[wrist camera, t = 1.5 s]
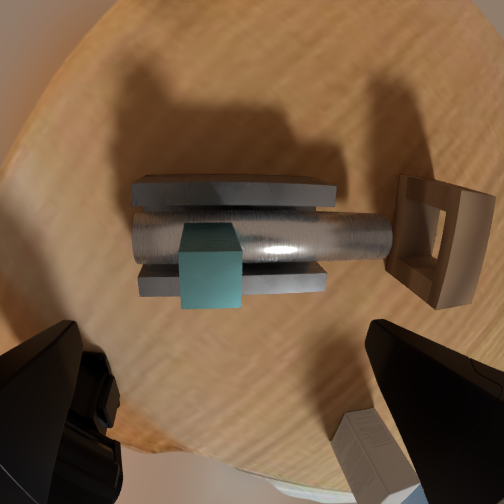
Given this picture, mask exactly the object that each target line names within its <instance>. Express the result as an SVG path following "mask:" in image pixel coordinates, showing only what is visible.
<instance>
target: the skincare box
mask: <svg viewBox="0 0 504 504" xmlns="http://www.w3.org/2000/svg"><path fill="white" fill-rule="evenodd" d="M331 446H332V448H333V451H334V453H335V455H336V457H337V460H338V462H339V464H340V466H341V468H342V470H343V473H344V475H345V477H346V479H347V481H348V484H349V486H350V488H351V490H352V492H353V495H354V497H355V499H356V501H357V503H358V504H401V503H402V501H403V500H404V499H405V498H407V497H408V496H409V494H411V493H412V492H413V491H414V490H415V489H416V487H417V486H418V485H419V484H420V480H419V478H418V475H417V474H416V472H415V471H414V469H413V468H412V466H411V464H410V463H409V461H408V460H407V458H406V456H405V455H404V453H403V452H402V450H401V448H400V447H399V445H398V444H397V442H396V441H395V439H394V437H393V436H392V434H391V433H390V431H389V430H388V428H387V426H386V425H385V423H384V422H383V420H382V419H381V417H380V416H379V414H378V412H377V411H376V409H375V408H370V409H365V410H359V411H353V412H347V413H345V414H344V416H343V419H342V421H341V423H340V425H339V427H338V429H337V431H336V433H335V435H334V437H333V439H332V441H331Z"/></svg>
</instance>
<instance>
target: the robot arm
mask: <svg viewBox="0 0 504 504" xmlns="http://www.w3.org/2000/svg"><path fill="white" fill-rule="evenodd" d="M365 349H366V352H367V355H368V357H369V360H370V363H371V366H372V369H373V372H374V375H375V378H376V381H377V383H378V386H379V388H380V391H381V393H382V395H383V397H384V399H385V401H386V404H387V406H388V408H389V410H390V412H391V415H392V417H393V419H394V421H395V423H396V426H397V428H398V430H399V433H400V435H401V437H402V439H403V442H404V444H405V446H406V449H407V451H408V453H409V456H410V458H411V461H412V463H413V465H414V468H415V470H416V473H417V475H418V478H419V480H420V483H421V485H422V487H423V489H424V493H425V496H426V498H427V501H428V503H429V504H504V372H503V371H500V370H498V369H495V368H493V367H490V366H488V365H485V364H483V363H481V362H478V361H476V360H474V359H472V358H469V357H467V356H465V355H463V354H460V353H458V352H456V351H454V350H451V349H449V348H447V347H445V346H443V345H440V344H438V343H436V342H434V341H431V340H429V339H427V338H425V337H423V336H420V335H418V334H416V333H414V332H412V331H409V330H407V329H405V328H403V327H401V326H398V325H396V324H394V323H392V322H390V321H387V320H385V319H376V320H372V321H371V323H370V326H369V329H368V332H367V336H366V339H365ZM82 351H83V344H82V340H81V336H80V332H79V328H78V325H77V323H76V322H75V321H72V320H62V321H61V322H59V323H57V324H55V325H53V326H52V327H50V328H48V329H46V330H44V331H43V332H41V333H39V334H37V335H35V336H34V337H32V338H30V339H28V340H27V341H25V342H23V343H21V344H20V345H18V346H16V347H14V348H13V349H11V350H9V351H7V352H6V353H4V354H2V355H1V356H0V504H114V503H115V501H116V500H117V498H118V496H119V494H120V491H121V488H122V483H123V471H122V459H121V446H120V442H119V441H117V440H115V439H114V440H112V439H111V438H109V437H107V436H106V431H107V428H112V427H113V425H114V421H115V416H116V411H117V408H119V406H120V401H119V398H120V394H119V390H118V387H117V384H116V380H115V377H114V376H113V375H112V374H111V371H110V368H109V364H108V360H107V357H106V355H105V354H103V353H97V352H82ZM99 358H102V359H103V360H101V359H99Z"/></svg>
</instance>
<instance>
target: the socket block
mask: <svg viewBox="0 0 504 504" xmlns="http://www.w3.org/2000/svg"><path fill="white" fill-rule="evenodd" d="M495 199H496V197H495V196H492V195H489V194H486V193H482V192H479V191H475V190H472V189H468V188H465V187H461V186H457V185H454V184H450V183H446V182H442V181H438V180H433V179H427V178H420V177H413V176H406V175H400V176H399V186H398V195H397V203H396V211H395V218H394V225H393V232H392V235H393V238H392V246H391V249H390V252H389V255H388V261H387V266H386V271H387V272H388V273H389V274H391V275H392V276H393V277H394V278H396V279H397V280H398V281H400V282H401V283H402V284H404V285H405V286H406V287H407V288H409V289H410V290H411V291H412V292H414V293H415V294H416V295H417V296H419V297H420V298H421V299H422V300H424V301H425V302H426V303H427V304H429V305H430V306H431V307H432V308H434V309H435V310H440V309H446V308H451V307H457V306H462V305H467V304H471V303H472V300H473V297H474V293H475V290H476V287H477V283H478V280H479V276H480V272H481V269H482V265H483V261H484V257H485V252H486V248H487V243H488V239H489V234H490V229H491V224H492V218H493V212H494V206H495ZM440 210H443V211H446V218H445V224H444V230H443V235H442V240H441V245H440V250H439V255H438V260H437V259H436V258H434V257H432V252H433V247H434V242H435V236H436V231H437V225H438V219H439V213H440Z"/></svg>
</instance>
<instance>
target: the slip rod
mask: <svg viewBox="0 0 504 504" xmlns="http://www.w3.org/2000/svg"><path fill="white" fill-rule="evenodd" d="M392 238H393V235H392V227H391V224H390V221H389V220H388V218H387V217H386V216H385V215H384V214H379V213H356V212H329V211H289V210H171V211H137V212H136V213H135V216H134V220H133V228H132V245H133V254H134V258H135V261H136V263H137V264H179V279H180V295H181V309H211V308H241V291H242V263H259V262H305V261H344V260H379V259H384V258H385V257H386V256H387V255H388V254H389V252H390V249H391V246H392Z"/></svg>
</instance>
